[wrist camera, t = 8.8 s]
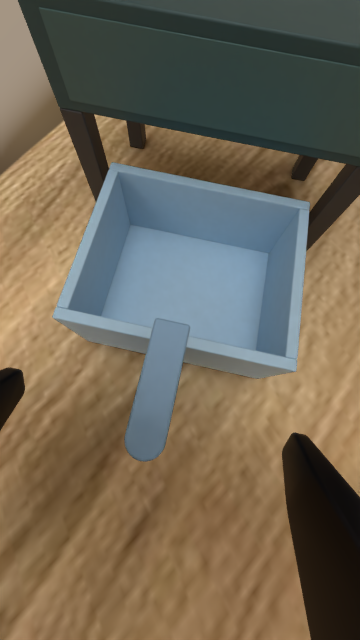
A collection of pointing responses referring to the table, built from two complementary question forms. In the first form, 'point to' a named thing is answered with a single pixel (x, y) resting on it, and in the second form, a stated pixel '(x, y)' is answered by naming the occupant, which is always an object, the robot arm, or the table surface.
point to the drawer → (187, 285)
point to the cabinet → (211, 78)
